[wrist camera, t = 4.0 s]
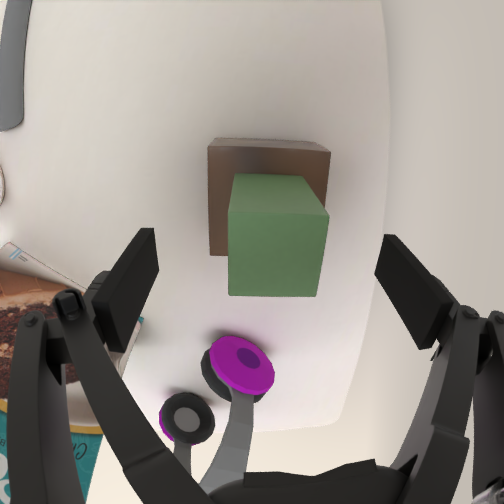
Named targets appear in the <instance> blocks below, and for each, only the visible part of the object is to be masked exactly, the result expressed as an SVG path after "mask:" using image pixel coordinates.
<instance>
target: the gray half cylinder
mask: <svg viewBox="0 0 504 504" xmlns="http://www.w3.org/2000/svg"><path fill="white" fill-rule="evenodd" d="M31 1H32V0H8V1H7V5H6V10H5V16H4V21H3V27H2V34H1V42H0V132H2V131H5V130H8V129H10V128H13V127H15V126H17V125H18V124H20V122H21V121H22V119H23V67H24V52H25V41H26V32H27V25H28V18H29V12H30V6H31Z"/></svg>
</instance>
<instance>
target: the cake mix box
mask: <svg viewBox="0 0 504 504" xmlns="http://www.w3.org/2000/svg"><path fill="white" fill-rule="evenodd" d="M68 288H76V289H78V290H80V292H81V294H82V296H83V294H84V293H85V291H86V290H87V289H85V288H83V287H81V286H80V285H78V284H76V283H74V282H72V281H71V280H69V279H67V278H65V277H64V276H62V275H60V274H59V273H57V272H55V271H54V270H52V269H50V268H49V267H47V266H45V265H44V264H42V263H41V262H39V261H37V260H36V259H34V258H33V257H31V256H29V255H28V254H26V253H25V252H23V251H22V250H20V249H19V248H17V247H16V246H14V245H13V244H11V243H10V242H8V243H7V244H6V245H5V246H3V247H2V248H1V249H0V504H10V498H11V493H10V486H9V476H8V464H7V442H6V423H7V400H8V387H9V378H10V369H11V362H12V355H13V349H14V343H15V337H16V332H17V327H18V323H19V320H20V318H21V317H22V316H23V315H24V314H25V313H27V312H30V311H33V310H38V311H41V312H42V313H43V315H44V317H45V319H51V318H58V317H57V314H56V312H55V309H54V307H53V304H52V299H53V297H54V296H55V295H56V294H57V293H58V292H60V291H62V290H64V289H68ZM143 319H144V318H142V317H140V316H139V319H138V321H137V324H136V326H135V329H134V331H133V334H132V336H131V339H130V341H129V344H128V346H127V349H126V352H125V353H117V352H110V351H109V350H108V347H107V345H106V342H105V344H104V347H105V349H106V351H107V353H108V355H109V356H110V358H111V360H112V362H113V364H114V366H115V368H116V369H117V371H118V373H119V375H120V377H121V378H122V376H123V373H124V370H125V367H126V364H127V361H128V359H129V356H130V353H131V351H132V348H133V345H134V343H135V340H136V337H137V335H138V332H139V329H140V327H141V324H142V322H143ZM65 376H66V393H67V405H68V415H69V424H70V432H71V439H72V445H73V451H74V456H75V462H76V467H77V472H78V476H79V481H80V485H81V489H82V493H83V497H84V500H85V504H86V500H87V495H88V491H89V487H90V483H91V479H92V475H93V471H94V467H95V463H96V459H97V456H98V452H99V448H100V445H101V441H102V438H103V435H104V433H103V431H102V429H101V427H100V425H99V423H98V421H97V419H96V417H95V415H94V413H93V411H92V409H91V406H90V404H89V402H88V400H87V397H86V395H85V393H84V390H83V388H82V386H81V383H80V381H79V378H78V376H77V373H76V370H75V368H74V365H73V363H70V364H65Z"/></svg>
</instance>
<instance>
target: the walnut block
mask: <svg viewBox="0 0 504 504" xmlns="http://www.w3.org/2000/svg"><path fill="white" fill-rule="evenodd" d="M330 157H331V152H330V151H328V150H327V149H325V148H324V147H322V146H321V145H319V144H317V143H315V142H303V141H289V140H272V139H246V138H215V139H214V140H213V141H212V142H211V143H210V145H209V146H208V215H209V247H210V255H211V256H228V210H229V204H230V198H231V193H232V187H233V181H234V176H235V173H249V174H276V175H295V176H303V178H304V179H305V181H306V182H307V183H308V185H309V186H310V188H311V189H312V191H313V192H314V194H315V195H316V197H317V198H318V199H319V201H320V202H321V204H322V205H323V207H324V208H325V200H326V192H327V184H328V175H329V166H330Z"/></svg>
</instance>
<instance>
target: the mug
mask: <svg viewBox="0 0 504 504" xmlns="http://www.w3.org/2000/svg"><path fill="white" fill-rule="evenodd" d="M3 196H4V177H3V173H2V170H1V167H0V205H1V202H2V200H3Z"/></svg>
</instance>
